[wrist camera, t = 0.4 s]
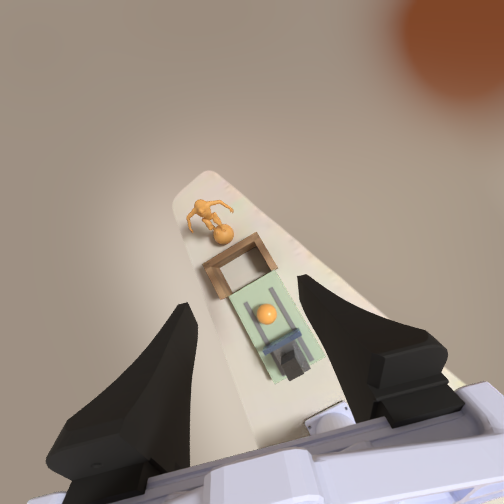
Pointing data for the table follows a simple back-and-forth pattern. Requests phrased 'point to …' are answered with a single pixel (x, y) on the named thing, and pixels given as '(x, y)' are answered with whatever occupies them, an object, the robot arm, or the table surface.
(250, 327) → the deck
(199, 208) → the figurine
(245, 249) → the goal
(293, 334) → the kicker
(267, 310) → the ball
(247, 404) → the table surface
